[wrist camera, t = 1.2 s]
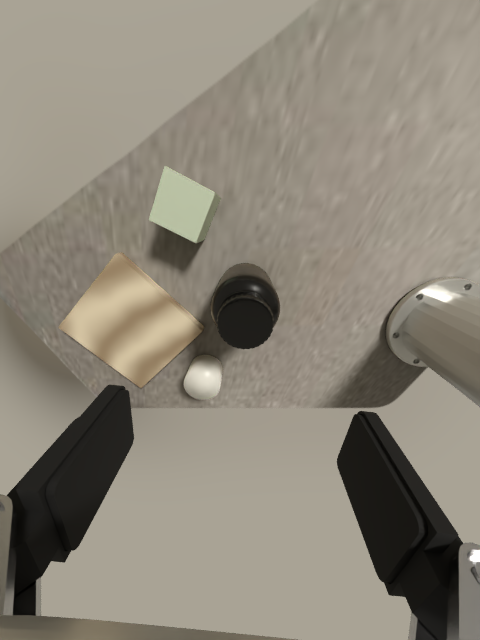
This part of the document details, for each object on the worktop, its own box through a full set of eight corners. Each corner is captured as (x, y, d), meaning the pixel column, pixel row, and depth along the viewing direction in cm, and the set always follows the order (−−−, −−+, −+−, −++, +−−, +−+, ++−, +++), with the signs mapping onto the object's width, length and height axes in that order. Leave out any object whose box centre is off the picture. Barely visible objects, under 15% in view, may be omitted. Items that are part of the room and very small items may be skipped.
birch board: (204, 326, 32) (202, 331, 31) (145, 382, 36) (141, 388, 35) (121, 252, 29) (115, 253, 27) (66, 323, 33) (58, 327, 31)
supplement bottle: (267, 315, 31) (277, 365, 20) (217, 309, 31) (200, 356, 20) (276, 265, 29) (293, 290, 18) (222, 258, 29) (205, 279, 18)
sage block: (221, 198, 26) (215, 192, 22) (204, 240, 28) (195, 243, 23) (179, 176, 25) (165, 165, 21) (165, 220, 27) (148, 219, 23)
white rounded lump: (229, 369, 35) (227, 386, 31) (207, 387, 36) (203, 405, 33) (205, 348, 34) (200, 363, 30) (183, 367, 35) (176, 384, 31)
